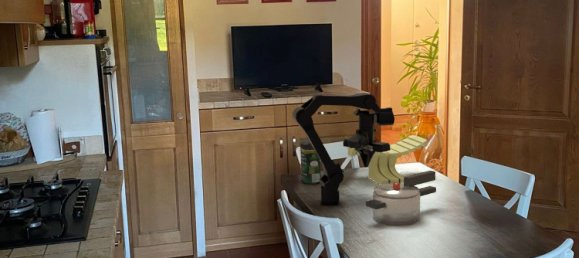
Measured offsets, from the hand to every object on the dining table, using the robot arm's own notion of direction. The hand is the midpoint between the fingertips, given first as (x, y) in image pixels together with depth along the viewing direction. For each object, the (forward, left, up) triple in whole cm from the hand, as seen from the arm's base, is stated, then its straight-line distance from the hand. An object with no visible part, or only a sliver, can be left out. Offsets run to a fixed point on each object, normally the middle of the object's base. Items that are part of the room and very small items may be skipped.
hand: (366, 167), depth 225 cm
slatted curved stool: (+11, +31, -13) cm, 36 cm away
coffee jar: (-22, +28, -13) cm, 38 cm away
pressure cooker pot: (+12, -20, -13) cm, 27 cm away
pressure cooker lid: (+13, -19, -4) cm, 23 cm away
